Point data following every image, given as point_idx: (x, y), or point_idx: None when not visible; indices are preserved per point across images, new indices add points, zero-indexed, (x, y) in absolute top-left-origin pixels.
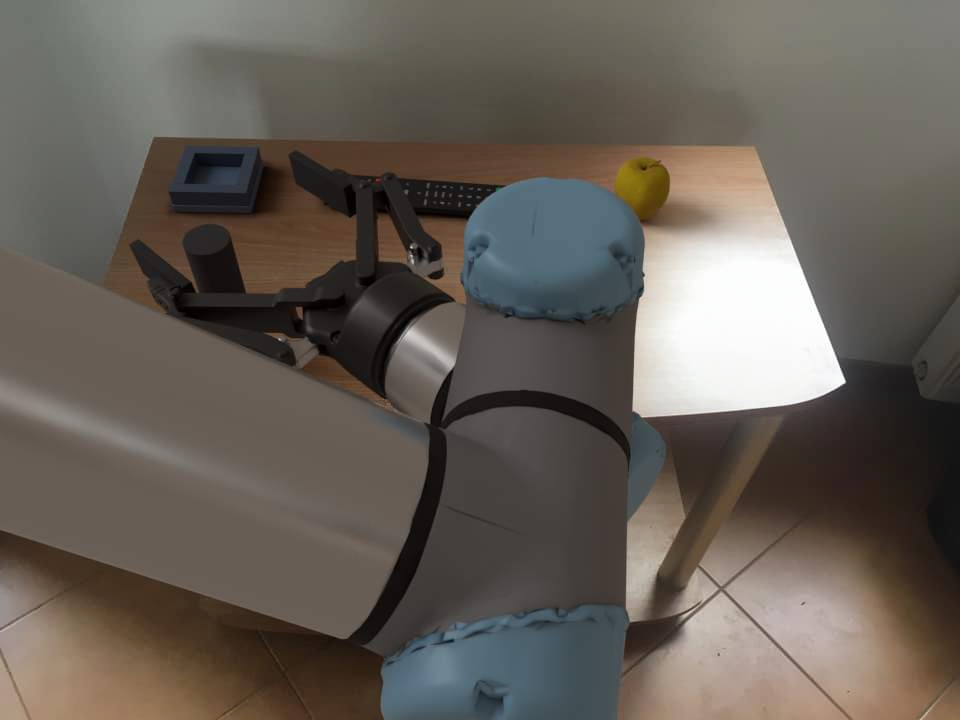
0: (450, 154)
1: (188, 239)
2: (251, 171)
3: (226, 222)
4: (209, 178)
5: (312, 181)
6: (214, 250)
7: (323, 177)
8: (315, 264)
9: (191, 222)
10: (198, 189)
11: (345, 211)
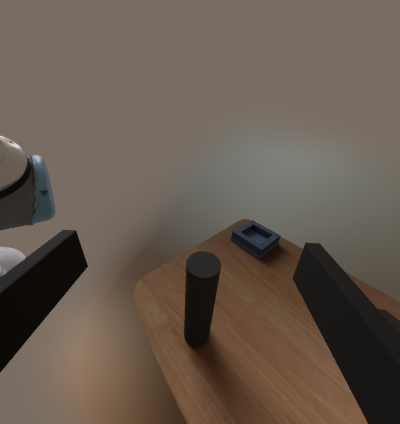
0: (393, 300)
1: (194, 256)
2: (270, 243)
3: (246, 256)
4: (252, 236)
5: (323, 298)
6: (199, 275)
7: (360, 319)
8: (272, 307)
9: (233, 247)
10: (243, 237)
11: (376, 422)
